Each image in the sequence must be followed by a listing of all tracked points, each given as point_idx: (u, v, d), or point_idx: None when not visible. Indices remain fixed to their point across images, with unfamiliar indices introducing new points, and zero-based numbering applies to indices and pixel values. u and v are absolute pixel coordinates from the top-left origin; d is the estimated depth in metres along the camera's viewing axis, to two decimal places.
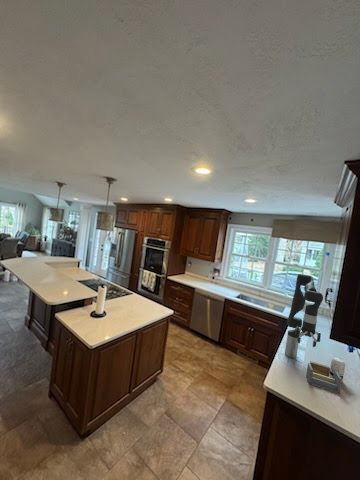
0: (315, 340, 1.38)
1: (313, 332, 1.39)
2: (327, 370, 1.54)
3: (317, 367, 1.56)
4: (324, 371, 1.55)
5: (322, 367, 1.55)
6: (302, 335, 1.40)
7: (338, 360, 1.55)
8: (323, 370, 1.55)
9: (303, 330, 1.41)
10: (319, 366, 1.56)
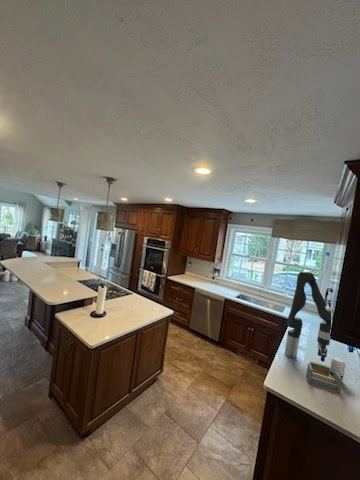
0: None
1: None
2: (327, 370, 1.54)
3: (317, 367, 1.56)
4: (324, 371, 1.55)
5: (322, 367, 1.55)
6: None
7: (338, 360, 1.55)
8: (323, 370, 1.55)
9: None
10: (319, 366, 1.56)
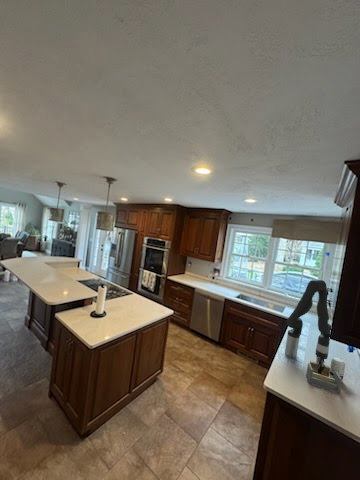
0: None
1: None
2: (327, 369, 1.54)
3: (317, 367, 1.56)
4: (324, 371, 1.55)
5: None
6: None
7: (338, 360, 1.55)
8: (323, 370, 1.55)
9: None
10: None
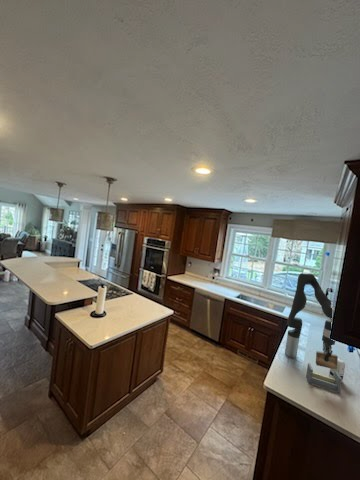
0: None
1: None
2: (335, 358, 1.45)
3: (324, 357, 1.47)
4: (332, 360, 1.45)
5: None
6: None
7: (338, 360, 1.55)
8: (331, 359, 1.45)
9: None
10: None
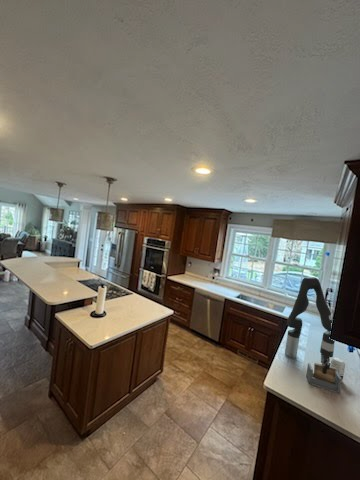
0: None
1: None
2: (333, 371, 1.45)
3: (322, 369, 1.47)
4: (330, 372, 1.45)
5: None
6: None
7: (338, 360, 1.55)
8: (329, 371, 1.46)
9: None
10: None
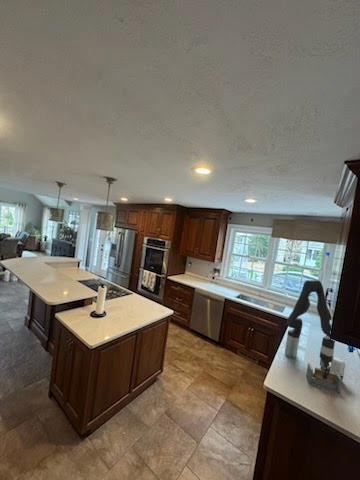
0: None
1: None
2: (333, 376, 1.45)
3: None
4: (330, 378, 1.45)
5: None
6: None
7: (338, 360, 1.55)
8: (329, 377, 1.45)
9: None
10: None
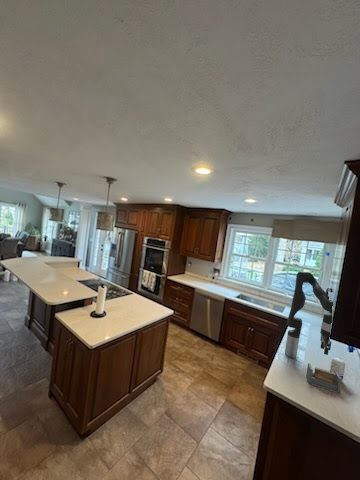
0: None
1: None
2: (333, 376, 1.45)
3: (323, 374, 1.47)
4: (330, 378, 1.45)
5: (328, 374, 1.46)
6: None
7: (338, 360, 1.55)
8: (329, 377, 1.45)
9: None
10: (324, 373, 1.46)
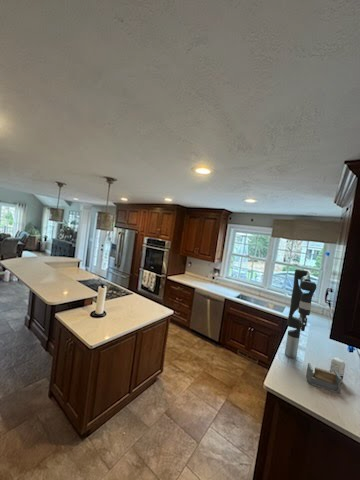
0: None
1: None
2: (333, 376, 1.45)
3: (323, 374, 1.47)
4: (330, 378, 1.45)
5: (328, 374, 1.46)
6: None
7: (338, 360, 1.55)
8: (329, 377, 1.45)
9: (305, 318, 1.55)
10: (324, 373, 1.46)
